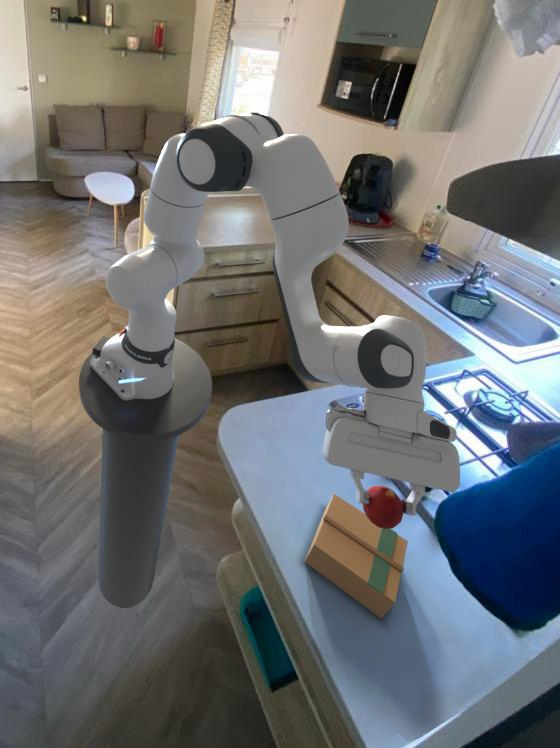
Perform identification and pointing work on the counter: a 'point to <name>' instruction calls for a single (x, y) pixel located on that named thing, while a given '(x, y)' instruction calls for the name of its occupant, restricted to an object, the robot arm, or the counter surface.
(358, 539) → the brown cardboard box
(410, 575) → the counter surface
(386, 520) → the red round fruit
